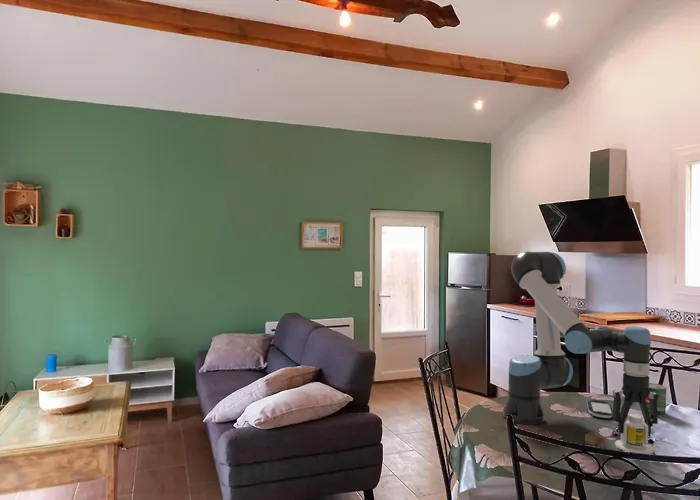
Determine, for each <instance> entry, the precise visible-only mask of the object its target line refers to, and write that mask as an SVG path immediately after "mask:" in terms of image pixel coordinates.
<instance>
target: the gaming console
mask: <svg viewBox="0 0 700 500" xmlns="http://www.w3.org/2000/svg"><path fill="white" fill-rule="evenodd" d="M586 405H587V410H588V413H589V415H591V417H593V418H597V419H600V420H601V419H602V420H613V418H612V414H613V406H612V405H611V404H610V403H609V402H607V401H603V400H598V399H589V400H587V401H586Z"/></svg>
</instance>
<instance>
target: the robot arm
mask: <svg viewBox="0 0 700 500" xmlns="http://www.w3.org/2000/svg"><path fill="white" fill-rule="evenodd" d="M510 267H511V269H510V270H511V274H512V277H513V279H514V281H515V283H517V285H518V286H519V287H520V289H523V290H525V291H527V292H528V294H529V295H530V296H531V297H532V299H533V300H534V309H535V326H536V342H537V343H536V344H537V349H536V351H535V350H534V352H533V354H534V355H530V354H529V355H528V354H527V355H523V354H522V355H516V356H513V357H512V358H511V359H510V360H509V365H508V388H507V389H508V393H507V394H508V395H507V399H506V400H505V404H504V406H503V409H502V411H503V412H502V415H503V417H504V418H505V417H506V415H507V414H511V415H512V416H513V419H514V422H513V423H516V424H519V425H520V424H521V425H530V426H531V425H532V426H533V425H541V424H543V423H544V422H545V412H544V410H543V408H544V407H543V406H542V402H541V390H544V389H545V390H546V389H554V388H560V387H563V386H566V385H568V384H569V383H570V381H571V380H572V378H573V374H574V370H573V365H572V363H571V362H570V360H569V359H568V357H566V353H565V352H564V350H562V348H561V334H560V333H562V334H563V336H564V344H565V347H566V349H567V350H568V351H569V352H571V353H573V354H576V355H577V354H583V355H585V354H589V353H598V352H599V353H600V352H608V351H609V352H616V353H620V354H623V364H622V365H623V366H622V367H623V368H622V369H623V370H622V371H623V373H622V387H621V389H619V390H616V389H615V390H613V391H612V394H613V397H614V398H613V405H612V409H613V414H612V420H613V421H615V422H616V423H618V424H617V431H618V432H619V434H620V439H619V440H620V441H621V442H622V443H623V444H626V441H627V424H626V421H627V420H626V419H628V415H629V412H630V409H631V407H632V406H633V403H638V404H639V407H640V411H641V415H642V419H643V421H644V422H641V423H642V424H643V425H644V438H643V444H644V445H649V435H651V434H652V427H653V426H654V424H655V425H657V424H658V423H659V419H658V417H659V416H658V415H657V400H658V397H659V395H658V394H656V393H654V392H650V391H649V383H650V377H649V375H650V364H651V363H650V351H651V343H652V341H651V331H650V330H649V329H648V328H646V327H642V326H641V327H640V326H625V327H624V330H621V329H619V330H618V329H615V328H608V327H607V326H595V327H594V328H593V329H589V328H588V327H587V326H586V325H585V324H584V323H583V322H582V321H581V319H580V318H579V317H578V315H576V314H575V312H574V311H573V310H572V309H571V308H570V307H569V306H568V305H567V304H566V302H565V301H564V300H563V299H562V298H561V297H560V296H559V295H558V288H560V287H559V286H561V280H562V279H563V278H564V275H565V274H566V271H567V268H566V267H567V266H566V262H565V260H564V259H563V257H562V256H561V255H559V254H557V253H555V252H553V251H552V252H550V251H524V252H521V253H519V254H517V255H516V256H515V257H514V259H513V260H512V262H511V266H510ZM623 396H624V399H623V403H622V397H623ZM648 396H649V398H650V414H649V412H648V409H647V403H646V400H645V399H646V398H647V397H648ZM621 403H622V407H621Z"/></svg>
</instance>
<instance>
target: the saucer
mask: <svg viewBox="0 0 700 500" xmlns="http://www.w3.org/2000/svg"><path fill="white" fill-rule="evenodd" d="M614 446H615V447H616V449H618V448H619V449H622V450H624V451H630V452H636V453H647V454H652V453H653V454H654V448H653V447H652V446H650V445H649V444H648V445H644V444H643V447H642V448H634V447H630V446H628V445H626V444H623V443H622V442H621V441H620V439H617V440H616V441H615V442H614ZM619 449H618V450H619ZM653 454H652V455H653Z"/></svg>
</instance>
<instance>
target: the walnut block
mask: <svg viewBox="0 0 700 500" xmlns="http://www.w3.org/2000/svg"><path fill="white" fill-rule="evenodd" d="M584 435H585V436H584V446H585V445H590V446H595V447H600V448H604V449H605V437H604V436H601V435H600V434H598V433H596V432H593V433H585V434H584Z"/></svg>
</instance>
